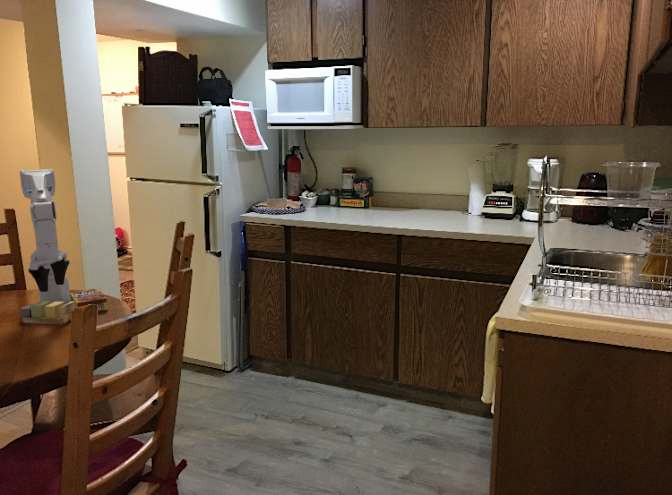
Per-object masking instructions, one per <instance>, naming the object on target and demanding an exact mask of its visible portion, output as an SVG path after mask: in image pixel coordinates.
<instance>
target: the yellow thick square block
mask: <svg viewBox="0 0 672 495" xmlns="http://www.w3.org/2000/svg"><path fill="white" fill-rule="evenodd" d="M64 304H66V303H65V302H53V303H51V304H49V305H47V306H45V312H46V318H60V315H59V307H60V306H62V305H64Z"/></svg>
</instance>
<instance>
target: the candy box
mask: <svg viewBox="0 0 672 495" xmlns="http://www.w3.org/2000/svg"><path fill="white" fill-rule="evenodd" d="M70 299H71V300H70V301H75V308H77V307H82V306H85V305H88V304H98V306H99V311H98V312H102V311H107V310H108V309H109V308H108V300H107V297H106V296H105V294H104V293H103V292H102V291H101V290H100V289H99V287H94V288H93V287H92V288H85V289H81V290H79V289H78V290H73V291H70Z"/></svg>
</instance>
